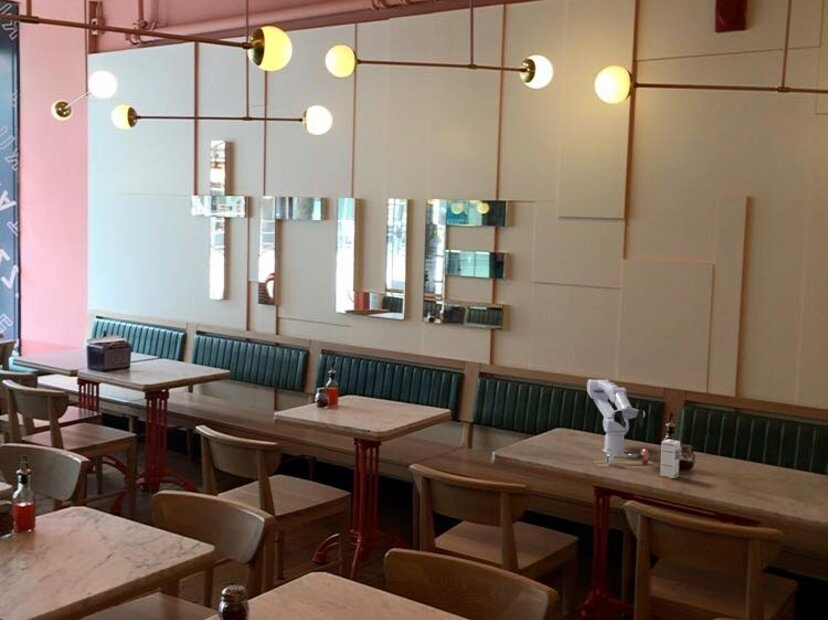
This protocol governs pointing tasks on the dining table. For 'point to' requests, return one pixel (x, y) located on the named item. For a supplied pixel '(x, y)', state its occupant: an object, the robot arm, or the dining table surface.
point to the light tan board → (626, 464)
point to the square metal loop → (610, 458)
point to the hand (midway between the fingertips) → (633, 426)
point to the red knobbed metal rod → (635, 456)
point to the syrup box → (670, 458)
